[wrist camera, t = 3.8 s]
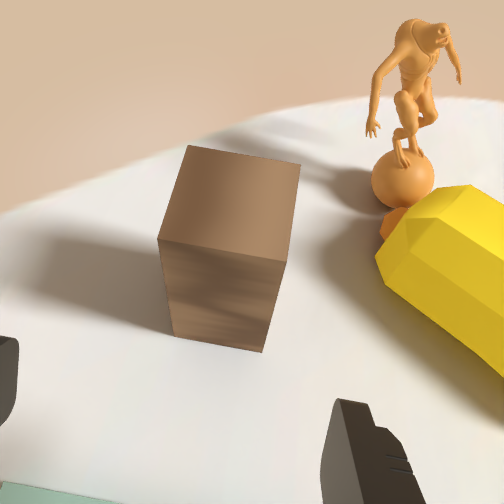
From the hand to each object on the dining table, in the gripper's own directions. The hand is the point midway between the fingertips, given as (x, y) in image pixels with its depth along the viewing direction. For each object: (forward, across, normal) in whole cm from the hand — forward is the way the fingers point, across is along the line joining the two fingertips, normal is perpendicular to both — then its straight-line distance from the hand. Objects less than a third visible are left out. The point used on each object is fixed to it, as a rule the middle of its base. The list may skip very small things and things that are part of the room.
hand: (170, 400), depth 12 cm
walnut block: (+16, 0, +3) cm, 16 cm away
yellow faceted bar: (+17, -16, +2) cm, 24 cm away
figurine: (+24, -9, -5) cm, 26 cm away
